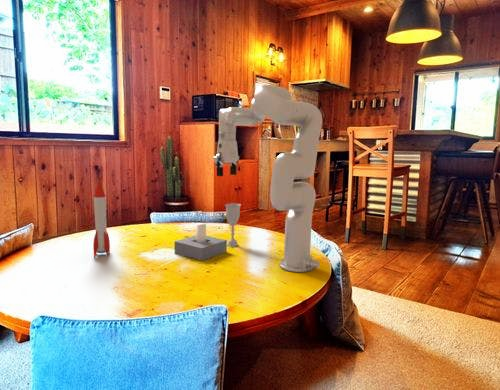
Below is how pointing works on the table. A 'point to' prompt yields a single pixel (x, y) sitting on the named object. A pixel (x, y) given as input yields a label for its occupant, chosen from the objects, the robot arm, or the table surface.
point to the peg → (201, 233)
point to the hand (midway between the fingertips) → (226, 175)
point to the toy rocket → (100, 222)
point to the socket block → (200, 247)
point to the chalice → (232, 220)
